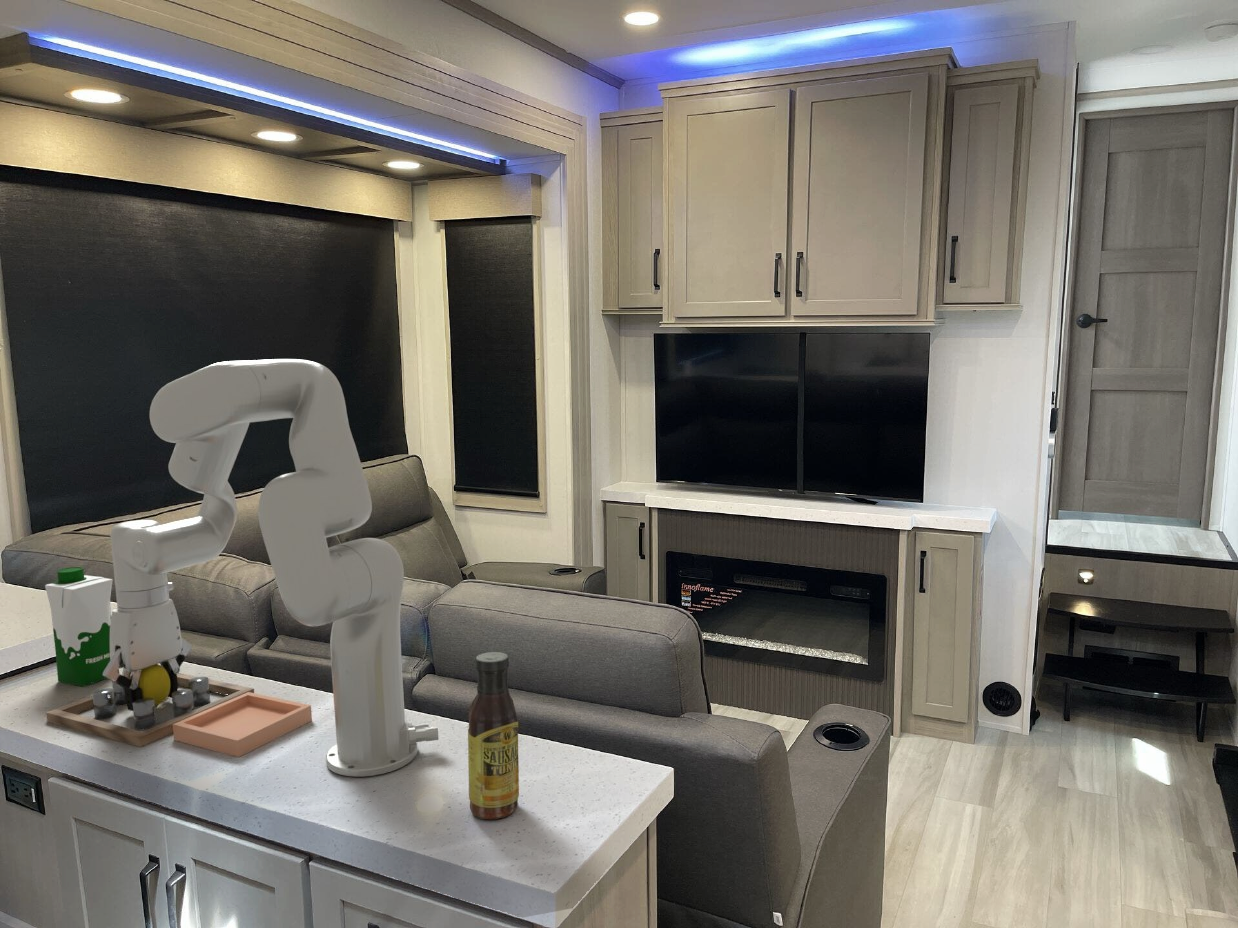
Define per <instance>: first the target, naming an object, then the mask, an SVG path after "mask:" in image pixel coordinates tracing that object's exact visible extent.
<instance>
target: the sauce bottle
mask: <svg viewBox="0 0 1238 928" xmlns="http://www.w3.org/2000/svg"><path fill="white" fill-rule="evenodd" d="M509 663H510V662H509V656H508V654H507V653H504V652H499V651H490V652H484V653H480V654H478V655H477V656H476V657H475V665H474V666H475V669H476V670H477V686H476V691H477V694H476V696H475V697H474V698H473V700H472V701H471V704H470V707H469V710H468V729H467V744H468V745H467V752H468V754H467V755H468V799H469V809H470V812H471V813H472V815H473V816H475V817H477V818H479V819H483V820H496V819H497V820H498V819H503V818H506V817H508V816H510V815H511V814H512V813H514V812H515V811H516V810H517V808H518V807H519V806H518V805H519V802H518V801H519V800H518V799H519V796H520V784H519V783H520V782H519V781H520V780H519V777H520V775H519V771H520V765H519V721H518V720H519V719H518V715H517V712H516V708H515V703H514V700H513V698H512V696H511V694H510V691H509V683H508V669H509V665H510V664H509Z"/></svg>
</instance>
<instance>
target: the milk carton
mask: <svg viewBox="0 0 1238 928" xmlns="http://www.w3.org/2000/svg"><path fill="white" fill-rule="evenodd" d="M112 586H113V578H106V577H103V576H94V575H87V574H86V575H85V572H84V567H81V566H76V567H75V566H71V567H66V568H62V569H59V570H57V581H55V582H51V583H47V584H45V585H44V587H45V591H46V595H47V598H48V603H49V607H50V611H51V612H50V613H51V622H52V631H53V642H54V648H55V649H54V650H55V658H56V659H55V660H56V670H57V671H56V672H57V681H58V682H59V681H60V682H61V683H64V684H69V685H73V686H77V687H87V686H89V685H92V684H96V683H98V682H101V681H103V680H106V679H107V678H106V677H104V676H103V672H104V670H105V668H106V667H107V665H108V663H109V662H110V623H111V616H112V609H111V593H112ZM118 673H119V674H120V668H119V669H118ZM60 682H59V683H60Z"/></svg>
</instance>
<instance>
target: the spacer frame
mask: <svg viewBox="0 0 1238 928" xmlns="http://www.w3.org/2000/svg"><path fill="white" fill-rule="evenodd" d="M196 677H197V676H196V675H190V674H187V673H186V674H185V673H182V672H179V673H178V674H177V683H178V686H180V685H181V687H185V688H189V680H190V679H193V678H196ZM208 680H209V691H212V692H218V693H221V694H228V696H226V695H225V696H224V697H221V698H220V699H216V700H214V701H212V702H210V703H208V704H206V705H203V706H199V707H197V708H194V710H193V711H190V712H188V713H186V714H183V715H181V716H179V717H176V718H174V717H173V718H172V719H169V720H167V721H164V722H162V723H160V724H158V725H157V724H156V725H155V726H154V727H151V728H148V729H144V730H143V731H140V730H138V729H133V728H129V727H124V726H120V725H118V724H114V723H110V722H107V721H106V722H105V721H102V720H100V719H96V718H90V717H88V716H87V717H86V716H83V715H79V714H80V713H83V712H85V711H88V710H91V709H94V704H93V695H91V696H87V697H85V698H82V699H80V700H77V701H74V702H71V703H68V704H66V705H64V706H63V705H62V706H60V707H57V708H55V709H52V710H49V711H46V712H45V714H46V722H47V723H52V724H55V725H59V726H63V727H65V728H69V729H74V730H76V731H80V732H85V733H88V734H92V735H95V736H99V737H102V738H105V739H110V740H114V741H117V742H120V743H121V742H122V743H124V744H128V745H132V746H136V747H139V748H142V747H144V746H146V745H148V743H149V744H151V743H153V742H155V741H158V740H160V739H162V738H164V737H166V736H169V735H171V734H173V724H175V723H177V722H179V721H182V720H184V719H186V718H189V717H191V716H193V715H196V714H198V713H200V712H203V711H205V710H207V709H210V708H212V707H214V706H217V705H219V704H221V703H224V702H226V701H228V700H231V699H233V698H235V697H238V696H240V695H242V694H245V693H247V692H251V693H255V688H253V687H248V686H243V685H238V684H233V683H229V682H224V681H221V680H215V679H210V678H208ZM112 689H113V687H112ZM212 692H211V693H212ZM221 694H220V695H221ZM143 745H144V746H143Z"/></svg>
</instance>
